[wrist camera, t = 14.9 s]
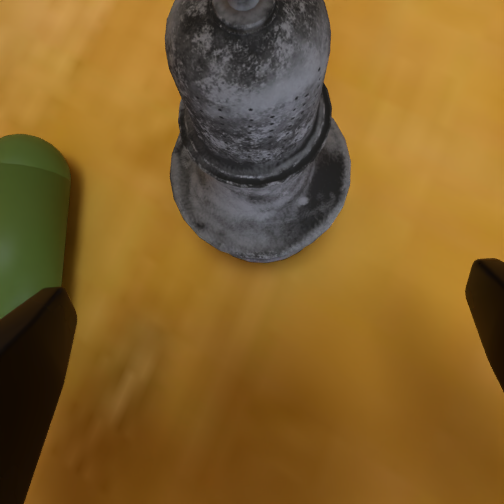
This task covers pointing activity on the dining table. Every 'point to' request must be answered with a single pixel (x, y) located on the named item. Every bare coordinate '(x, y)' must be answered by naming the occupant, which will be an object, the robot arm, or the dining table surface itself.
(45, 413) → the robot arm
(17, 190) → the pickle
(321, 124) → the chess piece
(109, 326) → the dining table surface
